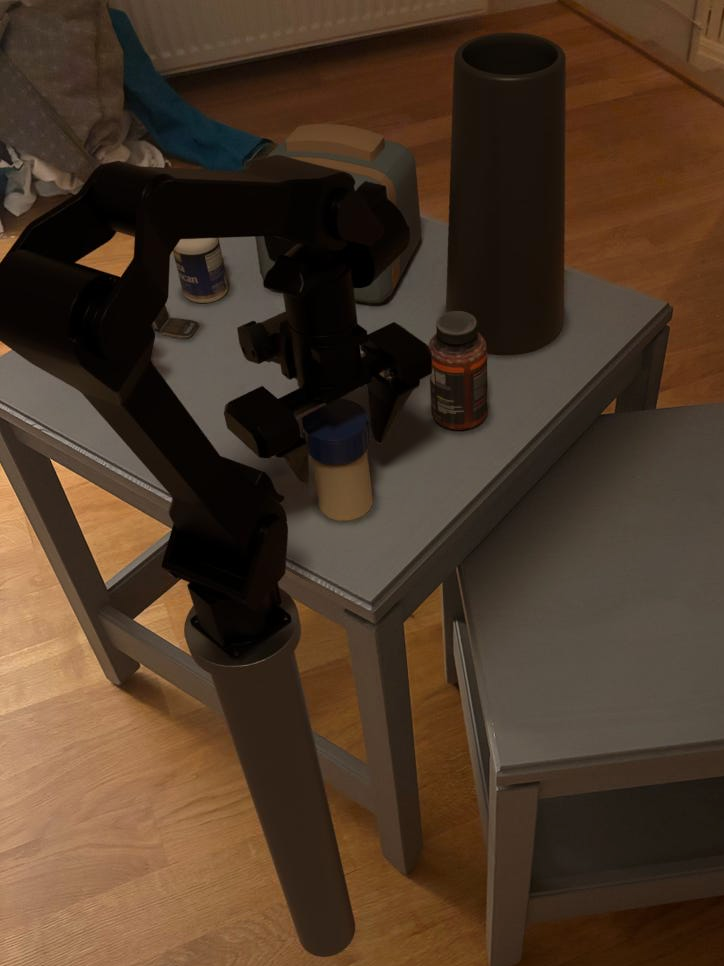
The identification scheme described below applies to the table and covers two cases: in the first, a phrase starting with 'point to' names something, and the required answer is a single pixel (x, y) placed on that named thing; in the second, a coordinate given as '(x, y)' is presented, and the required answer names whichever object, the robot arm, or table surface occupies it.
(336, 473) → the jar
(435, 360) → the supplement bottle
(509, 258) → the vase
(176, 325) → the strap clip
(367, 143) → the alarm clock
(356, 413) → the jar lid
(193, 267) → the pill bottle
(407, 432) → the table surface
